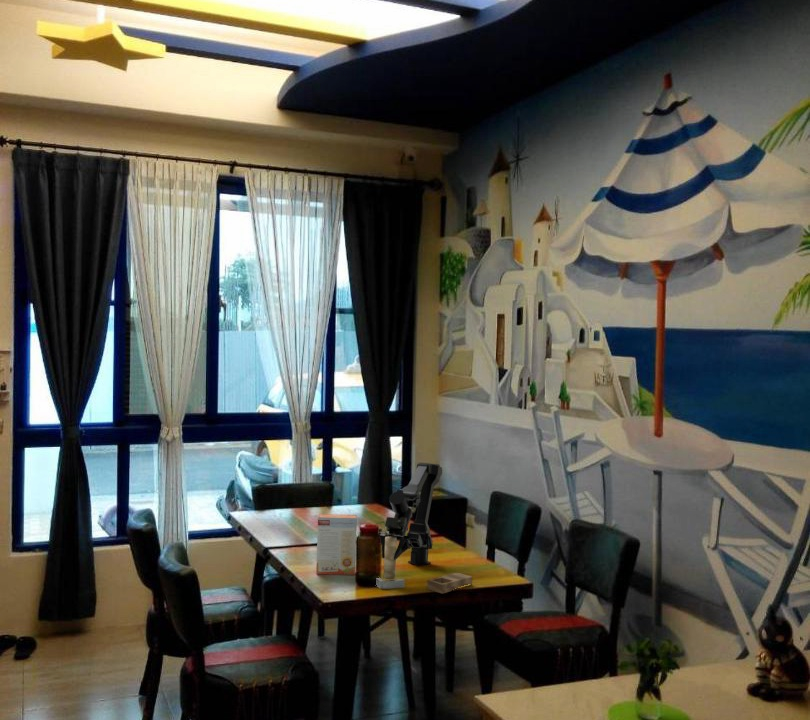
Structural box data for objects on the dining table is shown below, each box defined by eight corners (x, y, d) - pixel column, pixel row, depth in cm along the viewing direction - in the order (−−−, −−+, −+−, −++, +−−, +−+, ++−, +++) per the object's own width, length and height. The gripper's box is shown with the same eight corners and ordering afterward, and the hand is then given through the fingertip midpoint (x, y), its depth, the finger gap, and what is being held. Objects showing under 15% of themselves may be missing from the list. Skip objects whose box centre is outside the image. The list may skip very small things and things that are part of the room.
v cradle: (372, 581, 301) (372, 574, 301) (405, 586, 297) (405, 579, 297) (365, 586, 295) (365, 579, 295) (398, 591, 291) (399, 584, 290)
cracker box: (355, 571, 314) (357, 514, 313) (354, 575, 308) (357, 517, 307) (316, 570, 313) (319, 513, 313) (315, 574, 307) (317, 516, 307)
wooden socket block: (456, 580, 307) (456, 572, 306) (471, 585, 302) (472, 576, 302) (426, 588, 295) (427, 580, 295) (442, 593, 290) (442, 584, 290)
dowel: (393, 576, 301) (395, 536, 301) (396, 579, 297) (397, 539, 297) (382, 576, 300) (384, 536, 300) (384, 579, 297) (386, 539, 296)
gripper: (371, 505, 305) (358, 542, 295) (421, 510, 299) (409, 548, 289) (379, 523, 313) (366, 559, 303) (427, 528, 307) (415, 566, 296)
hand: (388, 558), depth 298 cm, fingers closed on dowel, 4 cm apart
